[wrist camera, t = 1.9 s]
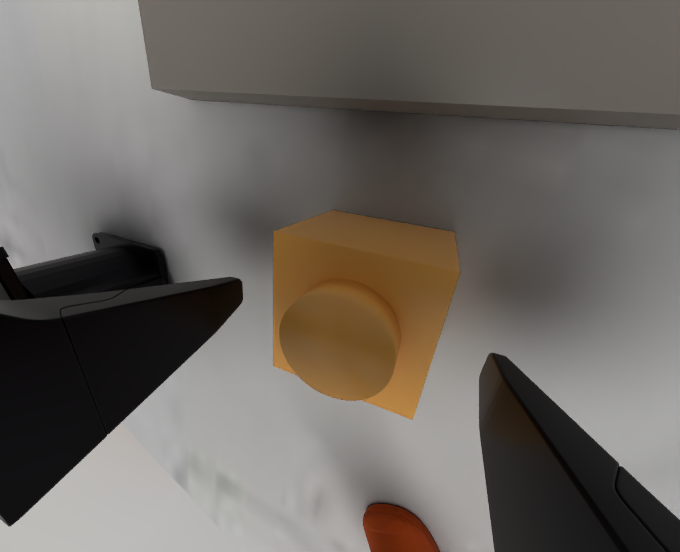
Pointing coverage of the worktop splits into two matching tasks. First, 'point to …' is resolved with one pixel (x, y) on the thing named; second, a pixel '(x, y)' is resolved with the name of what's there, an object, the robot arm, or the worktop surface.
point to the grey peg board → (426, 56)
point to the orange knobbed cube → (361, 305)
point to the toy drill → (396, 530)
